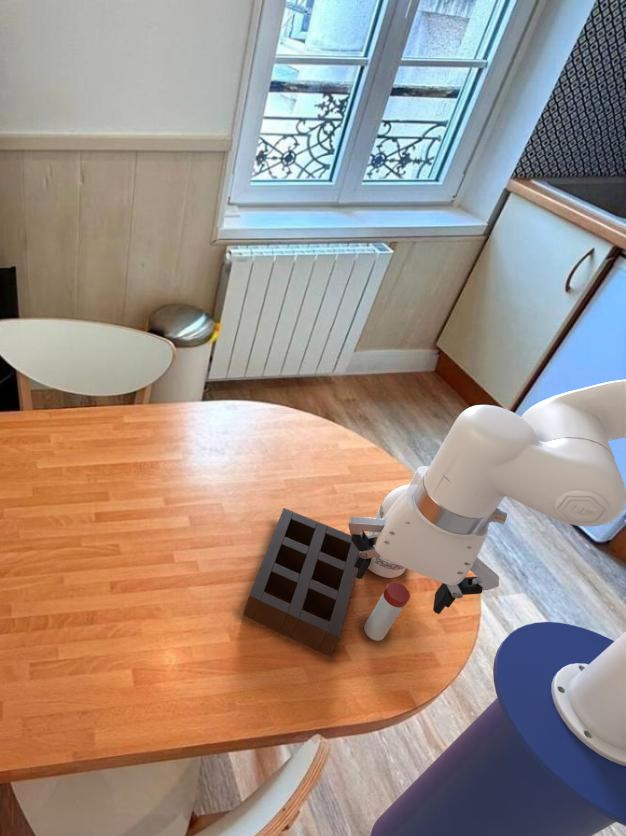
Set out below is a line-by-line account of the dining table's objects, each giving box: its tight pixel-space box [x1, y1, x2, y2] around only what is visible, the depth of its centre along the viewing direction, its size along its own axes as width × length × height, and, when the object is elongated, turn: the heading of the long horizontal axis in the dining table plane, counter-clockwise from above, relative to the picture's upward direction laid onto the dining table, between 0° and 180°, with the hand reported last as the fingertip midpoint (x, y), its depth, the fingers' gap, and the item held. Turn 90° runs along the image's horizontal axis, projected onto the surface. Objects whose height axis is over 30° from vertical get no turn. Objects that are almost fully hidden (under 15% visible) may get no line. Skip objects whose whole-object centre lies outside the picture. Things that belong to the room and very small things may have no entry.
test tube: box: [363, 581, 411, 641], centre depth 83 cm, size 3×3×10 cm
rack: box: [242, 507, 359, 657], centre depth 90 cm, size 12×18×5 cm
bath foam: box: [366, 465, 429, 579], centre depth 89 cm, size 7×7×20 cm
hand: (397, 587), depth 79 cm, fingers open, 9 cm apart
